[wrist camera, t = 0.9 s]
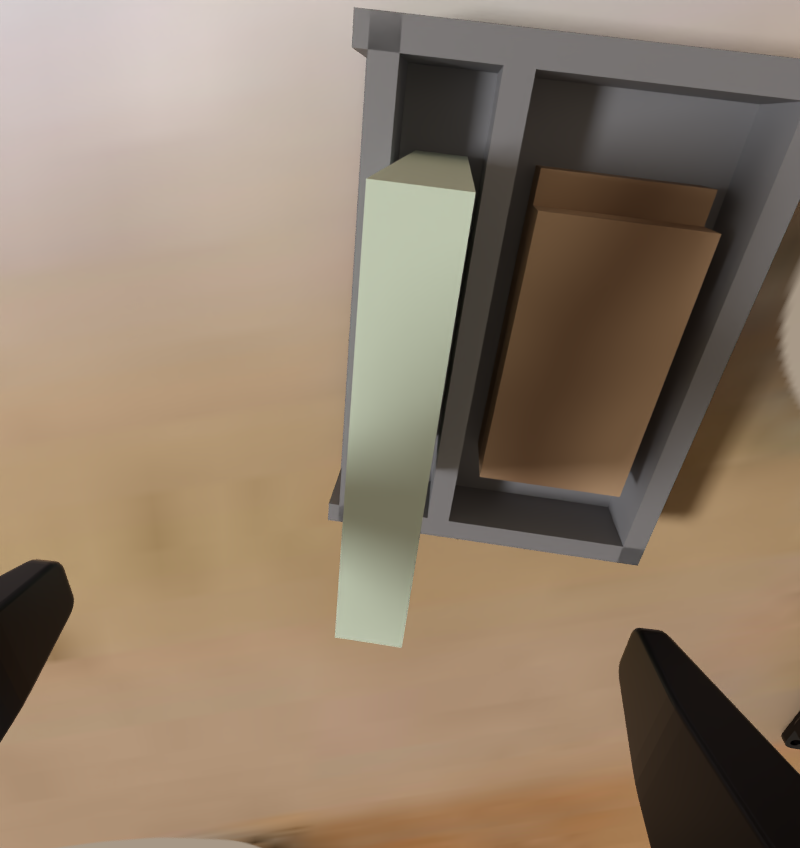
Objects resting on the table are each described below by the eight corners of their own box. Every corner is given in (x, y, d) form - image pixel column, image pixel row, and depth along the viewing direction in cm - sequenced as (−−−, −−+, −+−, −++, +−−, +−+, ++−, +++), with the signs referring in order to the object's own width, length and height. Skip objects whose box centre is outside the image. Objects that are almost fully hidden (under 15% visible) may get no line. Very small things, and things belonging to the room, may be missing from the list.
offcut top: (703, 226, 16) (721, 234, 15) (611, 477, 20) (619, 496, 19) (532, 204, 16) (538, 210, 15) (478, 458, 20) (479, 476, 19)
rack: (790, 75, 15) (858, 65, 13) (617, 515, 23) (637, 565, 20) (371, 27, 16) (354, 7, 13) (342, 476, 23) (328, 519, 21)
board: (467, 156, 16) (475, 192, 8) (425, 435, 21) (401, 647, 13) (415, 150, 16) (366, 178, 8) (385, 429, 21) (334, 637, 13)
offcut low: (700, 185, 16) (717, 189, 15) (604, 460, 21) (611, 477, 20) (535, 165, 16) (541, 167, 15) (477, 442, 21) (478, 458, 20)
